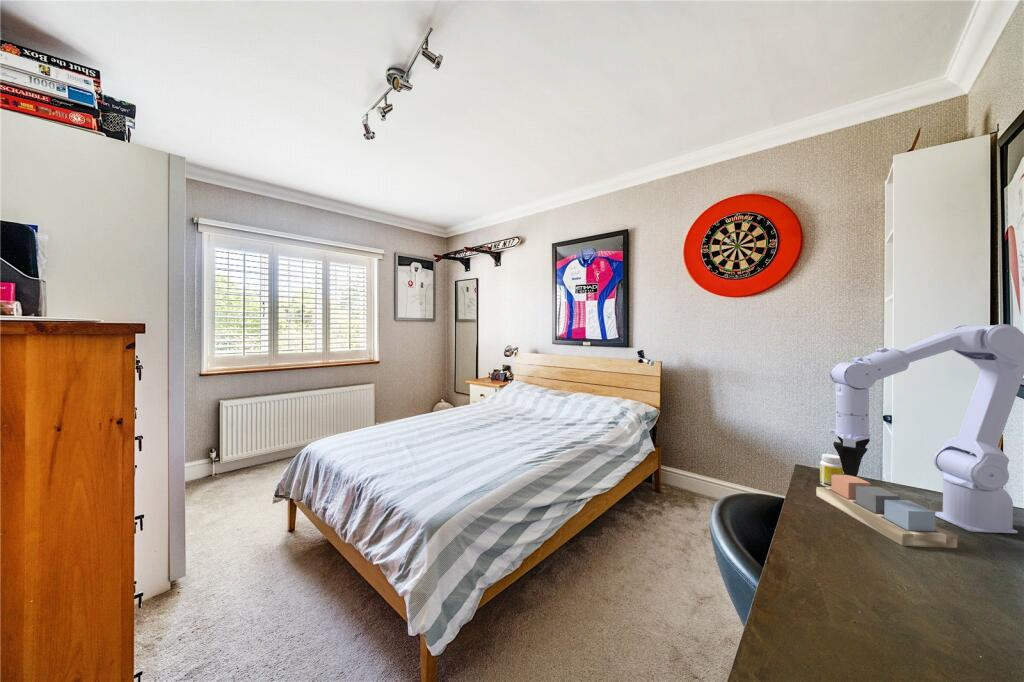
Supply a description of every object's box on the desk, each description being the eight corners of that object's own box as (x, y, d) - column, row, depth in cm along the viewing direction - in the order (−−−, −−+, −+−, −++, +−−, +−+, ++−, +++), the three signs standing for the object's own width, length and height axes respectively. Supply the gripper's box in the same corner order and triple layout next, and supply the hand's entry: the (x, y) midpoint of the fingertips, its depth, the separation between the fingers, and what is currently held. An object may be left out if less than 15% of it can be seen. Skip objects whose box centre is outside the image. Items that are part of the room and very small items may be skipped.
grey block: (878, 503, 84) (878, 486, 84) (899, 514, 79) (900, 496, 79) (855, 502, 84) (855, 486, 84) (875, 513, 79) (875, 495, 79)
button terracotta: (852, 490, 91) (852, 475, 91) (870, 499, 86) (870, 483, 86) (831, 490, 91) (831, 474, 91) (848, 499, 86) (848, 482, 86)
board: (857, 497, 92) (857, 488, 92) (957, 547, 70) (957, 535, 70) (816, 496, 93) (816, 487, 93) (902, 545, 71) (902, 533, 71)
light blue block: (909, 518, 77) (909, 500, 77) (934, 531, 72) (935, 511, 72) (884, 518, 77) (884, 499, 77) (908, 530, 72) (908, 511, 72)
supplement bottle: (847, 489, 97) (848, 458, 97) (829, 489, 97) (830, 458, 97) (832, 482, 102) (832, 453, 102) (815, 482, 102) (815, 453, 102)
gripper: (832, 406, 92) (832, 459, 92) (825, 415, 82) (825, 474, 82) (871, 410, 87) (871, 466, 87) (868, 420, 77) (868, 483, 77)
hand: (851, 470), depth 84 cm, fingers open, 7 cm apart
